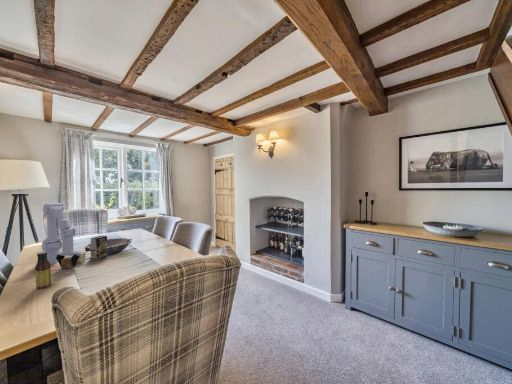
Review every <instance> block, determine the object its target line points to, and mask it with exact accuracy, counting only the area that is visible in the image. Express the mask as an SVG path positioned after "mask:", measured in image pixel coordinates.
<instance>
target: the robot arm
mask: <svg viewBox="0 0 512 384" xmlns="http://www.w3.org/2000/svg"><path fill="white" fill-rule="evenodd" d="M64 210H65V204H64V203H63V202H58V203H56V202H55V203H44V204H43V207H42V212H43V215H44V216H46V231H47V233H46V234H47V237H46V238H45V239H44V240H43V241H42V242H41V243H42V244H41V251H42V252H45V251H46V252H47V260H48V261H49V262H50V265H55V264H57V263H58V264H60V267H61V259H63V258H66V257H71V258H72V264H73V266H76V263H77V260H78V258H79V256H80V255H81V252H82V251H74V250H75V249H74V236H75V235H76V229H75V228H74V227H73V226H71V224H70V222H69V220H67V219H66V217H65V215H64ZM57 227H58V229H59V230H60V231H59V235H60V236H58V235H57V233H58V231H57ZM60 250H61V251H60Z"/></svg>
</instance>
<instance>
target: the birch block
mask: <svg viewBox="0 0 512 384" xmlns="http://www.w3.org/2000/svg"><path fill="white" fill-rule="evenodd" d="M80 252H81V255H80V256H79V258H78V260H77V263H76V264H81V263H83V262H85V260H86V251H80Z"/></svg>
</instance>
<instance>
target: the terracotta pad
mask: <svg viewBox="0 0 512 384" xmlns="http://www.w3.org/2000/svg"><path fill="white" fill-rule="evenodd" d="M50 267H51V271H59V270H61V267H60V266H56V265H53V266H50Z"/></svg>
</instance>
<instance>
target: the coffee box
mask: <svg viewBox="0 0 512 384" xmlns="http://www.w3.org/2000/svg"><path fill="white" fill-rule="evenodd" d="M103 248H107V249H108V236H107V235H97V236H95V237H91V238H90V259H96V260H97V259H100V258H103V257H105V256H108V253H107V254H106V253H105V252H104V251H102V250H101V249H103Z"/></svg>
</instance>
